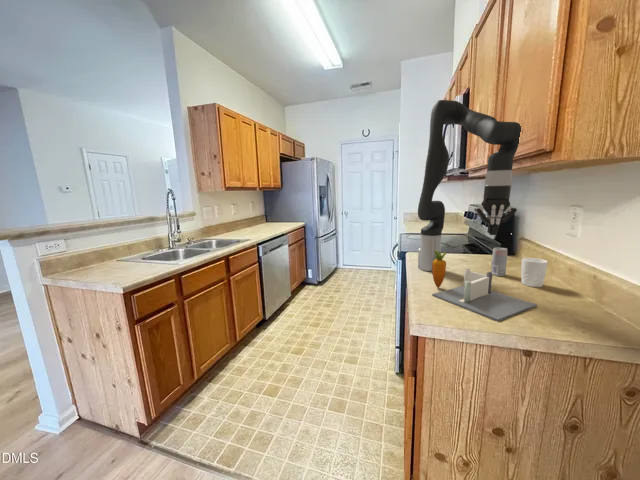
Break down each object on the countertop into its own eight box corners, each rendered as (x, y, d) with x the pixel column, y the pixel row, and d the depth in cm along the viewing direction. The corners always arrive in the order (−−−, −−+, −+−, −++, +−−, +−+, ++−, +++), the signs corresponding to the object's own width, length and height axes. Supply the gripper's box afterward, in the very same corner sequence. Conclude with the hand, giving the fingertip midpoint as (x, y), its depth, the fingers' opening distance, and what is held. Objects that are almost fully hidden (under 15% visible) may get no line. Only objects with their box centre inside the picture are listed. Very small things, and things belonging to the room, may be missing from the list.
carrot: (447, 288, 103) (449, 250, 100) (439, 290, 100) (441, 252, 98) (436, 284, 107) (438, 248, 104) (428, 287, 105) (430, 250, 102)
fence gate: (483, 292, 95) (484, 274, 94) (488, 293, 94) (490, 275, 93) (462, 300, 88) (463, 281, 87) (467, 302, 87) (469, 283, 86)
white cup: (514, 282, 107) (517, 258, 105) (528, 280, 109) (531, 256, 107) (535, 289, 99) (538, 263, 98) (549, 286, 102) (552, 261, 100)
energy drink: (500, 272, 120) (503, 247, 118) (508, 276, 115) (510, 249, 113) (488, 272, 120) (490, 247, 118) (495, 276, 115) (497, 249, 113)
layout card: (432, 295, 96) (432, 293, 96) (469, 285, 105) (469, 283, 105) (497, 321, 76) (497, 319, 76) (536, 306, 85) (536, 304, 85)
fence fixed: (462, 286, 103) (463, 266, 102) (465, 285, 104) (466, 266, 103) (488, 294, 94) (490, 273, 93) (491, 293, 95) (493, 272, 93)
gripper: (513, 184, 92) (507, 233, 95) (472, 185, 94) (468, 232, 97) (525, 184, 84) (519, 237, 88) (480, 185, 87) (475, 236, 90)
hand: (492, 234), depth 93 cm, fingers closed
